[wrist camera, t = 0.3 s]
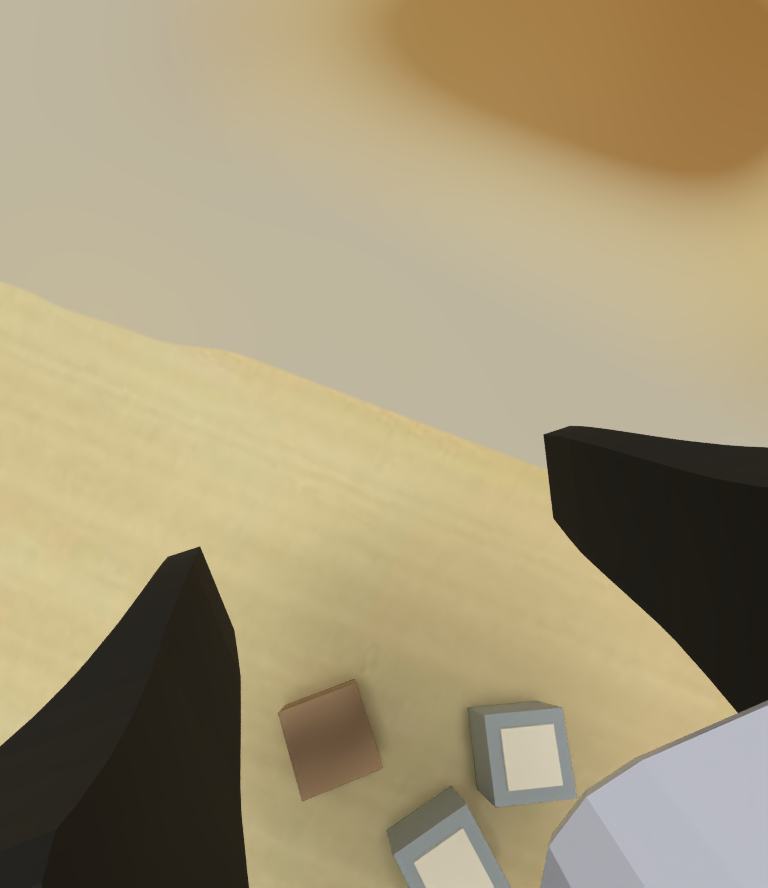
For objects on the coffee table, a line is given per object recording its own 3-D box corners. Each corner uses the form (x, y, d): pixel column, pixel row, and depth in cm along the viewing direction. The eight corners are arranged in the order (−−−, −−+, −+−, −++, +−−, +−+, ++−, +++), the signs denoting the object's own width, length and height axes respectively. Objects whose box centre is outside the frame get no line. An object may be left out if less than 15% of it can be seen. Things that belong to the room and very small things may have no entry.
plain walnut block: (378, 753, 36) (383, 768, 31) (306, 783, 35) (302, 801, 31) (354, 678, 37) (356, 682, 33) (285, 705, 36) (277, 713, 32)
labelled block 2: (549, 780, 36) (579, 799, 31) (477, 788, 35) (497, 808, 31) (537, 701, 37) (564, 707, 33) (467, 707, 37) (485, 715, 32)
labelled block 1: (491, 861, 34) (514, 893, 30) (425, 909, 33) (439, 950, 29) (451, 785, 35) (467, 805, 31) (386, 829, 34) (393, 856, 30)
